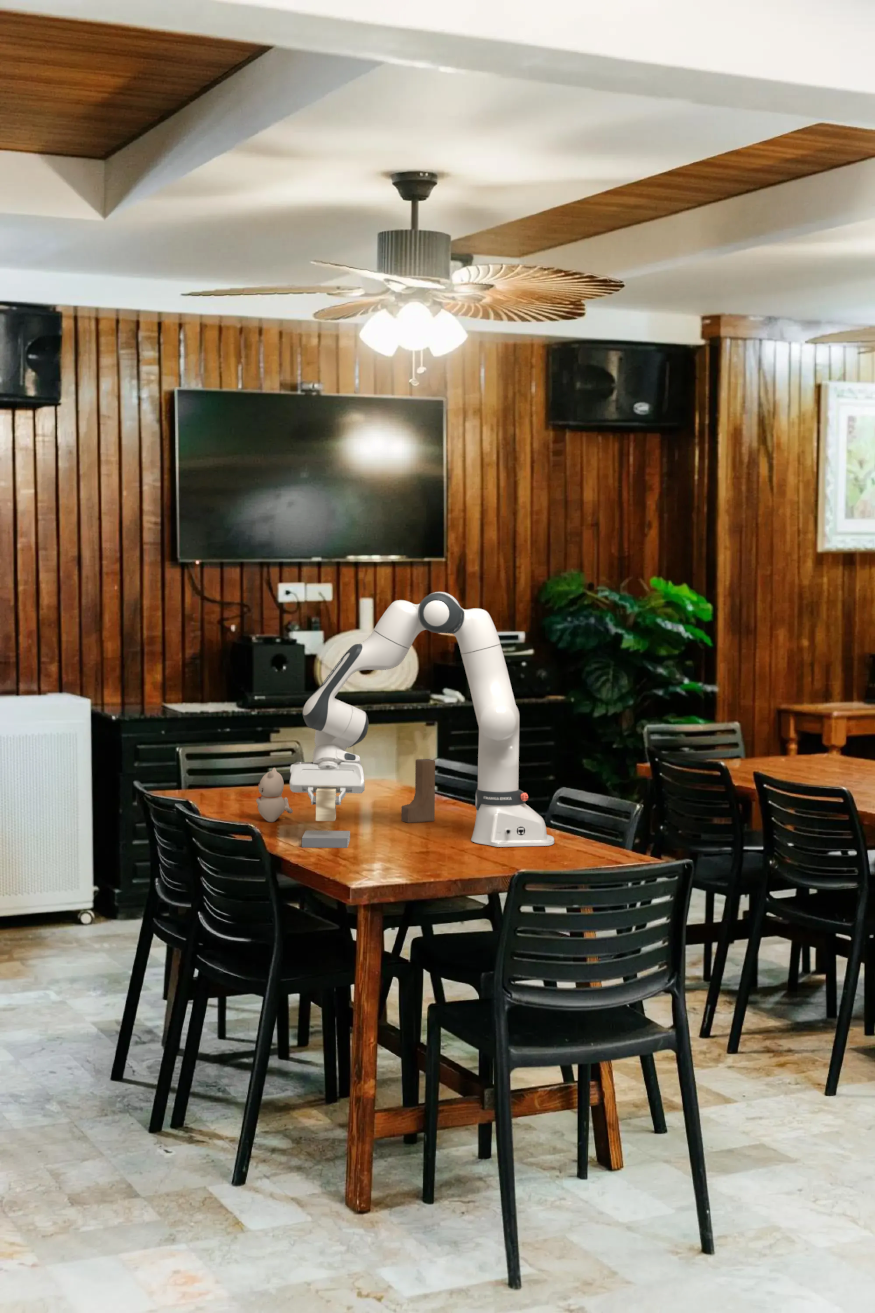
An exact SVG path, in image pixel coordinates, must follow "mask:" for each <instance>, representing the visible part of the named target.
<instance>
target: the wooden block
mask: <svg viewBox="0 0 875 1313" xmlns="http://www.w3.org/2000/svg"><path fill="white" fill-rule="evenodd" d="M414 772H415V774H414V776H415V780H414V782H415V783H414V784H415V785H414V789H415V790H414V797H413V799H412V800H411V802H410V803H408V804H405V805H402V806H401V808H400V809H401V810H400V811H401V812H400V813H401V815H400V818H401V821H402V822H404V823H407V824H414V823H415V824H416V823H426V822H427V823H428V822H434V821H435V820H436V819H435V816H436V814H435V811H436V807H435V806H436V805H435V803H436V797H435V796H436V792H435V791H436V790H435V789H436V760H434V759H431V758H420V759H419V758H418V759H415V771H414Z"/></svg>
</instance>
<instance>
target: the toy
mask: <svg viewBox="0 0 875 1313" xmlns="http://www.w3.org/2000/svg"><path fill="white" fill-rule="evenodd" d="M284 785H285V784H284V779H283V776H282V775H281V773H279V772H278V771H277V769H276V767H273V768H272V769H271V770H269V771H267V772H266V773H265V774H264V775H263V776H262V778H261V779H260V781H259V782H258V784H257V786H258V792H259V794H260V795H261V796H258V797H257V798H256V800H255V801H256V804H257V810H258V812H259V814H260V816H261V817H262V818H263V819H264V820H265V821H266V822H268V823H273V822H275V821H277V820H278V818H279V817H280V816H281V815H282V814H283V813H284V812H285V811H286V812H287V813H288V814H293V812H294V811H293V808H292V807H290V805H289V800H288V797H283V796H282V795H283V791H284Z"/></svg>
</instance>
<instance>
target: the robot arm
mask: <svg viewBox="0 0 875 1313" xmlns="http://www.w3.org/2000/svg"><path fill="white" fill-rule="evenodd" d="M460 604H461V603H460V602H459V600H457V598H456V597H454V596H453V595H452V594H449V593H448V592H445V591H435V592H432V593H429V594H428V595H426V596H425V597H424V598H423V599H422V600H421V601H420V602H419V603H417V604H415V603H413V602H410V601H408V600H404V599H399V600H398V599H397V600H394V601H393V602H392V603H391V604H390V605H389V606H388V607H387V609H386V610H384V613H383V614H382V616H381V617H380V618H379V620H378V621H377V623H376V625H375V627H374V628H373V630H372V632H371V634H369V636H368V637H367V638H366V639H365V640H363V641H362V642H361V643H355V644H353V645H352V646H351V647H349V649H348V650H346V652H345V653H344V654H343V656H341V658H340V659H339V661H338V662H337V663H336V664H335V666H334V667H333V669H332V670H331V671H330V672H329V674H328V675H327V676H326V678H325V679H324V680H323V682H322V683H321V684H320V685H319V687H318V688H317V689H316V690H315V691H314V692H313V694H311V696H309V698H308V699H307V701H306V702H305V704H304V705H303V708H302V713H301V714H302V717H303V720H304V723H305V724H306V727H308V728H310V729H313V730H315V731H314V732H315V734H314V745H315V746H314V748H313V754H312V756H313V757H312V761H296V762H295V763H293V764H290V767H289V773H290V778H289V790H290V791H291V792H292V793H304V794H305V793H307V795H308V797H309V799H310V804H311V805H315V806H316V795H315V794H316V790H317V788H334V789H336V794H339V795H336V797H335V805H336V806H341V805H342V801H343V799H345V797H346V796H347V794H363V793H364V791H365V787H366V786H365V785H366V784H365V783H366V782H365V774H364V768H363V766H362V760H361V757H360V755H358V754H355V753H351V752H348V751H346V750H347V748H348V749H349V748H351V747H354V746H355V745H357V744H359V743H361V742H362V741H363V740H364V738H366V736H367V734H368V730H369V718H368V715H367V713H366V711H364V710H363V709H360V708H359V707H356V706H354V705H351V704H348V703H346V702H344V701H341V700H339V699H337V698H335V697H336V696H337V695H338V693H339V692H340V690H341V689H342V688H343V686H344V685H345V684H346V683H347V681H348V680H349V679H350V677H352V675H353V674H355V673H357V672H359V671H367V670H369V671H371V670H372V671H374V670H375V671H387V670H392V669H394V668H397V667H399V665H400V664H402V662H403V661H404V659H405V658H406V656H407V654H408V653H409V651H410V648H412V645H413V643H414V642H415V639H416V638H417V637H418V635H419V634H420V633H421V632H423V631H425V630H426V631H429V632H430V633H436V634H449V635H450V634H453V636H454V637H455V638H456V641H457V644H458V646H459V650H460V655H461V659H462V663H463V666H464V670H465V674H466V678H467V683H468V687H469V689H470V690H469V691H470V694H471V700H472V705H473V709H474V713H475V717H476V722H477V725H478V751H477V752H478V754H477V757H478V758H477V788H476V789H475V810H476V814H475V815H476V816H475V823H474V827H473V832H472V835H471V839H470V841H471V842H472V843H473V842H474V843H475V844H480V845H486V846H487V845H488V846H492V847H496V848H497V847H498V848H499V847H500V848H502V847H503V848H508V847H509V848H510V847H544V846H545V847H546V846H547V847H548V846H552V845H554V844H555V837H554V836H552V835H550V834H547V833H548V832H547V826H546V823H545V820H544V818H543V817H542V816H541V815H540V814H539V813H538V812H537V811H535V810H534V809H533V808H531V807H530V806H529V805H527V804H526V801H528V800H529V795H528V793H527V792H524V791H523V790H521V789H519V780H520V779H519V777H520V776H519V774H520V772H519V769H520V767H519V764H520V761H519V759H520V758H519V757H520V711H519V708H518V706H517V705H516V704H517V703H516V700H515V696H514V692H513V689H512V684H511V680H510V675H509V671H508V667H507V664H506V659H505V656H504V652H503V649H502V645H501V644H502V643H501V640H500V637H499V634H498V631H497V629H496V626H495V624H494V621H493V619H492V617H491V615H490V613H489V612H488V611H487V610H486V609H482V608H478V607H477V608H476V607H475V608H468V609H464V608H463V607H461V605H460ZM314 793H315V794H314Z"/></svg>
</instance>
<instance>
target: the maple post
mask: <svg viewBox="0 0 875 1313" xmlns="http://www.w3.org/2000/svg"><path fill="white" fill-rule="evenodd" d="M315 796H316V805H315V821H316V822H335V821H336V818H337V805H335V797H336V796H337V793H336V789H334V788H317V790H316V793H315Z"/></svg>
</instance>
